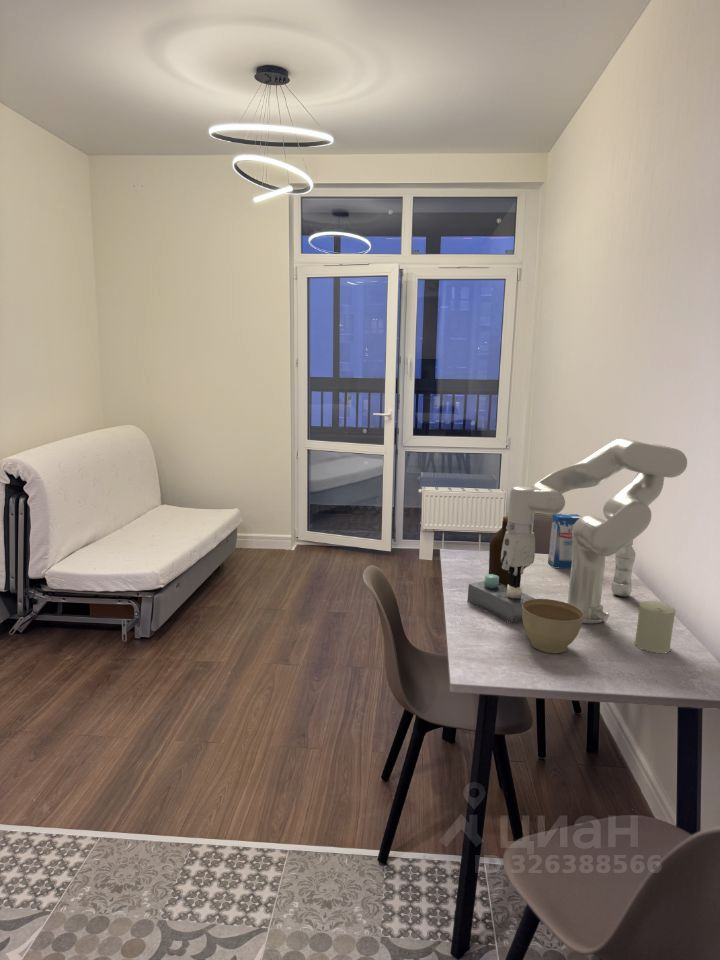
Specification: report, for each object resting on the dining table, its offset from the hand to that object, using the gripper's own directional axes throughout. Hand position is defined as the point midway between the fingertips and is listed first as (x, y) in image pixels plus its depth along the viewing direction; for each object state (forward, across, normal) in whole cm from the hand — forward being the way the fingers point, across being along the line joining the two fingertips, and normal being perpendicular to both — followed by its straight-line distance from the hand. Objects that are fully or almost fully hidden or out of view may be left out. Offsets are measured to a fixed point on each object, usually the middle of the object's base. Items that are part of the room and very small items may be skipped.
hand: (514, 586), depth 196 cm
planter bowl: (+10, -7, -21) cm, 24 cm away
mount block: (+9, 0, +5) cm, 11 cm away
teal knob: (+10, 0, +10) cm, 14 cm away
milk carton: (+9, +56, +29) cm, 64 cm away
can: (+9, +20, -34) cm, 41 cm away
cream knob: (+9, 0, 0) cm, 9 cm away
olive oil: (+10, +15, +20) cm, 27 cm away
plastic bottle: (+9, +48, -3) cm, 49 cm away
